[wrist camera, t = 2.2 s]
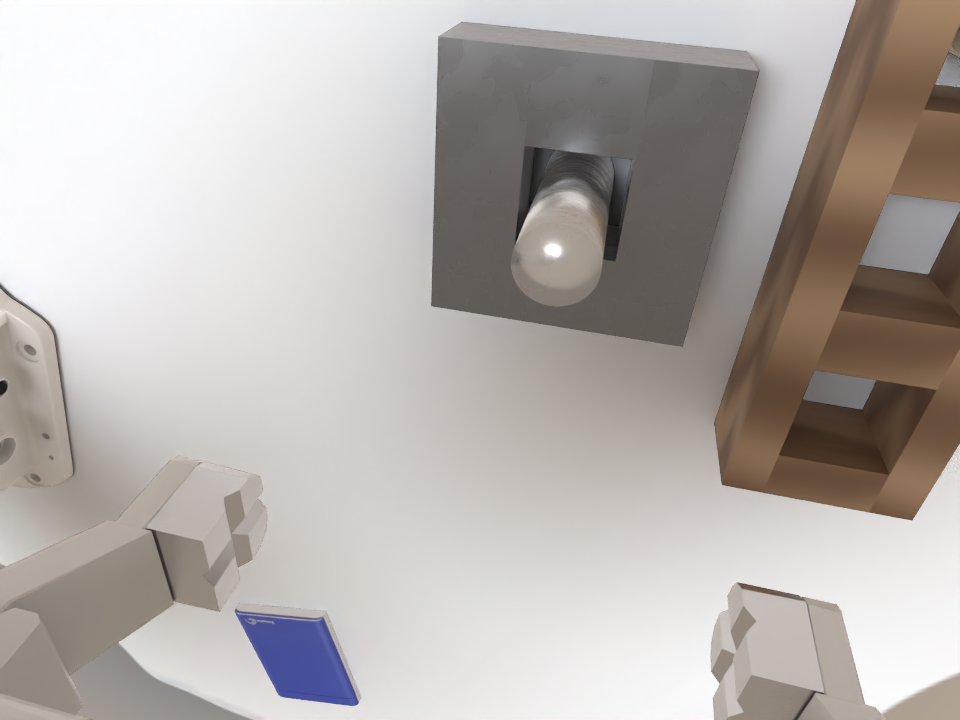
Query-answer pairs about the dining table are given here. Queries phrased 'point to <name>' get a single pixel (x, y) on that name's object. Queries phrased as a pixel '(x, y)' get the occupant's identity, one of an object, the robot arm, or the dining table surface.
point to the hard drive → (299, 653)
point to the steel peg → (565, 230)
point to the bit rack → (858, 286)
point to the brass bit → (956, 44)
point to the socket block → (591, 130)
